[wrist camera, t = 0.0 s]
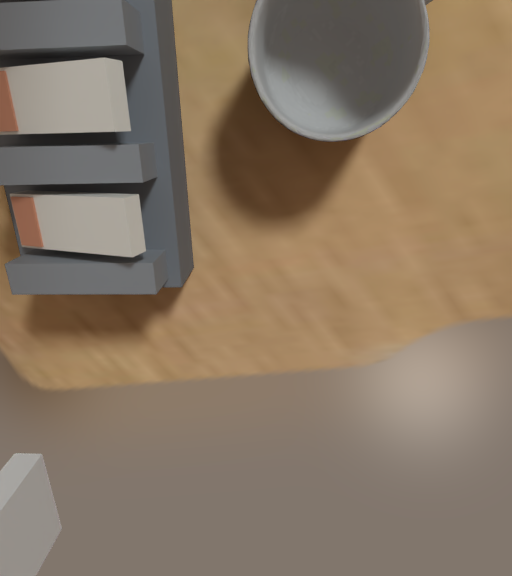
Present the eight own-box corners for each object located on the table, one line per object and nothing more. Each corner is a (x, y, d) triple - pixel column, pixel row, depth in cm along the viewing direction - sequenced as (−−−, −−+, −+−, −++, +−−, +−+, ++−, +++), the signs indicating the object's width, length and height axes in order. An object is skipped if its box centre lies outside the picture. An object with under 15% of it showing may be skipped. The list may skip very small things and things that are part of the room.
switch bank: (-23, -108, 29) (-135, -194, 21) (161, -120, 29) (115, -215, 21) (56, 268, 39) (-1, 304, 32) (193, 267, 39) (171, 304, 31)
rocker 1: (1, 72, 29) (-22, 69, 27) (122, 61, 25) (103, 57, 24) (15, 134, 30) (-7, 134, 29) (131, 131, 27) (113, 131, 25)
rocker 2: (27, 190, 32) (7, 193, 30) (138, 194, 28) (122, 198, 27) (38, 241, 33) (20, 247, 31) (146, 250, 30) (131, 257, 28)
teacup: (284, 159, 35) (285, 168, 27) (233, 20, 31) (218, -14, 24) (453, 89, 32) (505, 77, 25) (417, -72, 29) (464, -141, 21)
